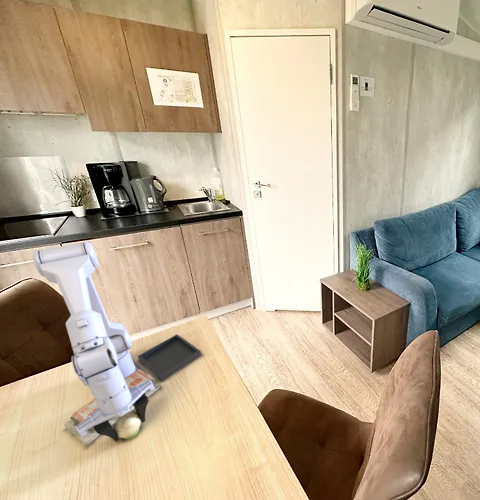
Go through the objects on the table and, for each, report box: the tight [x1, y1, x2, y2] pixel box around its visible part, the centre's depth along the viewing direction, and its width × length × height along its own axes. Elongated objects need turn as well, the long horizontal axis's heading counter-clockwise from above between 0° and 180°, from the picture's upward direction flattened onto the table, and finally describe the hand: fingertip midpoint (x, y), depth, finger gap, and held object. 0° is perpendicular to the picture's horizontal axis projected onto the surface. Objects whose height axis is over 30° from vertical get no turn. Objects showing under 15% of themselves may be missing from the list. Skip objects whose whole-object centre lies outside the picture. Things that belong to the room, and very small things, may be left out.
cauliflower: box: [112, 410, 142, 440], centre depth 69 cm, size 5×5×6 cm
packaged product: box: [63, 368, 161, 446], centre depth 75 cm, size 18×5×10 cm
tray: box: [137, 334, 202, 382], centre depth 92 cm, size 14×12×2 cm
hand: (129, 429), depth 69 cm, fingers closed on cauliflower, 5 cm apart
